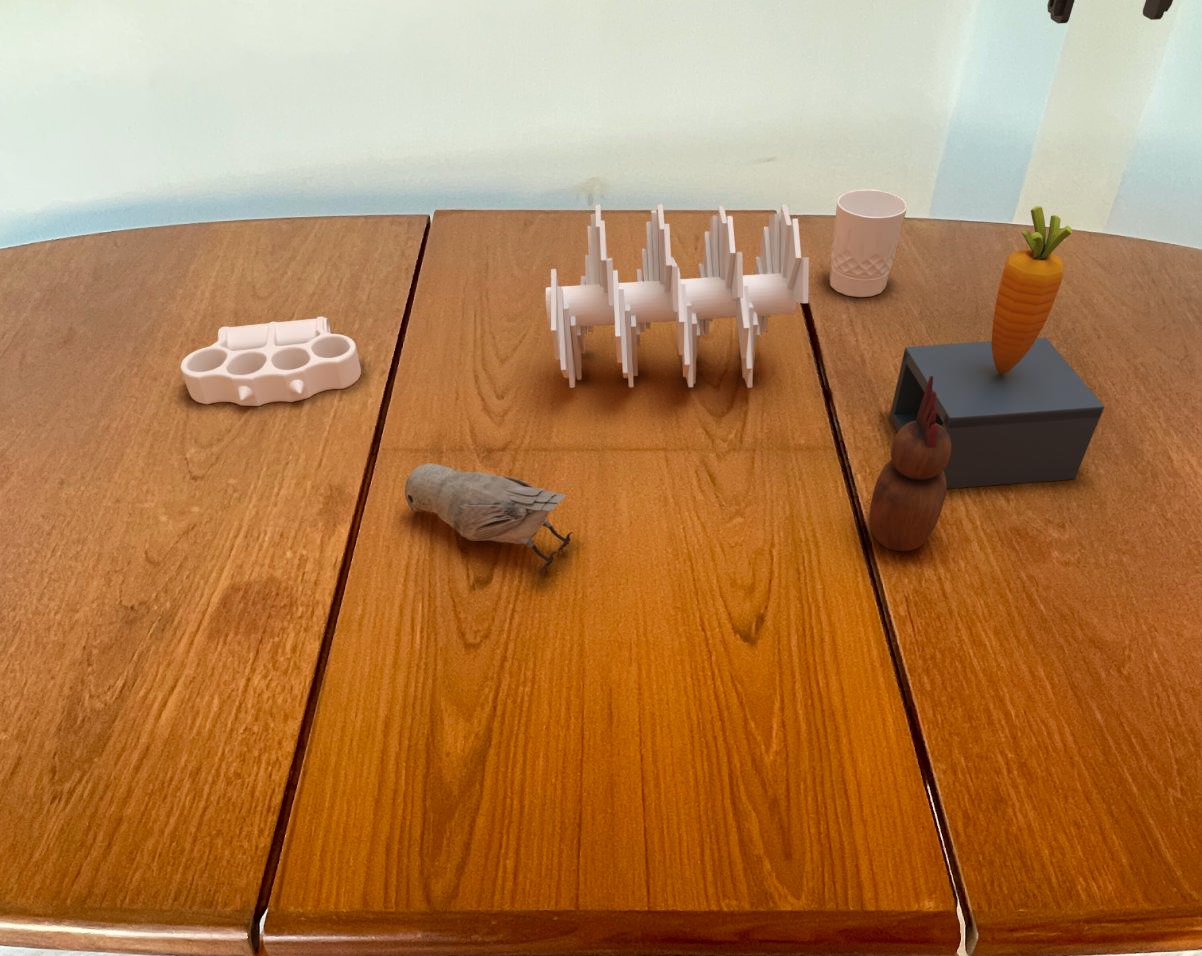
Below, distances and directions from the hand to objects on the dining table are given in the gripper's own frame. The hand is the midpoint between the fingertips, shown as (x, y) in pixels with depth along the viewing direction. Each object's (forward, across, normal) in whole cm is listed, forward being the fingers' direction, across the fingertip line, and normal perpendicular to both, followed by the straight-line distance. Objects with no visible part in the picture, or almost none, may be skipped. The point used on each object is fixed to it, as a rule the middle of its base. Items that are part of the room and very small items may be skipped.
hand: (1105, 19), depth 86 cm
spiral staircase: (+32, -38, -1) cm, 50 cm away
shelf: (+32, -10, -18) cm, 38 cm away
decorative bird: (+32, -58, -26) cm, 71 cm away
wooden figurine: (+32, -22, -30) cm, 49 cm away
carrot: (+24, -10, -18) cm, 32 cm away
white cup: (+32, -12, +16) cm, 38 cm away
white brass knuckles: (+32, -80, +4) cm, 86 cm away
